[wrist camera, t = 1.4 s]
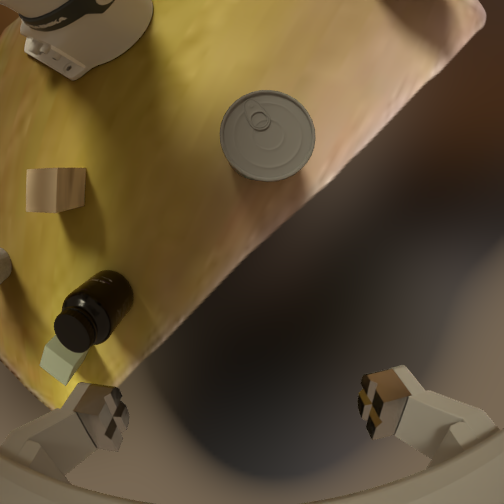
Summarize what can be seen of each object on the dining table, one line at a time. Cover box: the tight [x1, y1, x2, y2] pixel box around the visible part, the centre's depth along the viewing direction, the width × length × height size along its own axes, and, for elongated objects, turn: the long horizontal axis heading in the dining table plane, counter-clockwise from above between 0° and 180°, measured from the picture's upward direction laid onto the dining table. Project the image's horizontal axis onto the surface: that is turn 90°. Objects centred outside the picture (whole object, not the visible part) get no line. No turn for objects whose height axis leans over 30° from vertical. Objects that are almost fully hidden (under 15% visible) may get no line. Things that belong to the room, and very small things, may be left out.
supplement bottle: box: [54, 270, 133, 353], centre depth 31 cm, size 7×7×12 cm
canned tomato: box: [220, 90, 315, 182], centre depth 28 cm, size 8×8×11 cm
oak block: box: [26, 168, 86, 213], centre depth 29 cm, size 5×5×7 cm
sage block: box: [40, 335, 89, 386], centre depth 35 cm, size 5×5×7 cm
